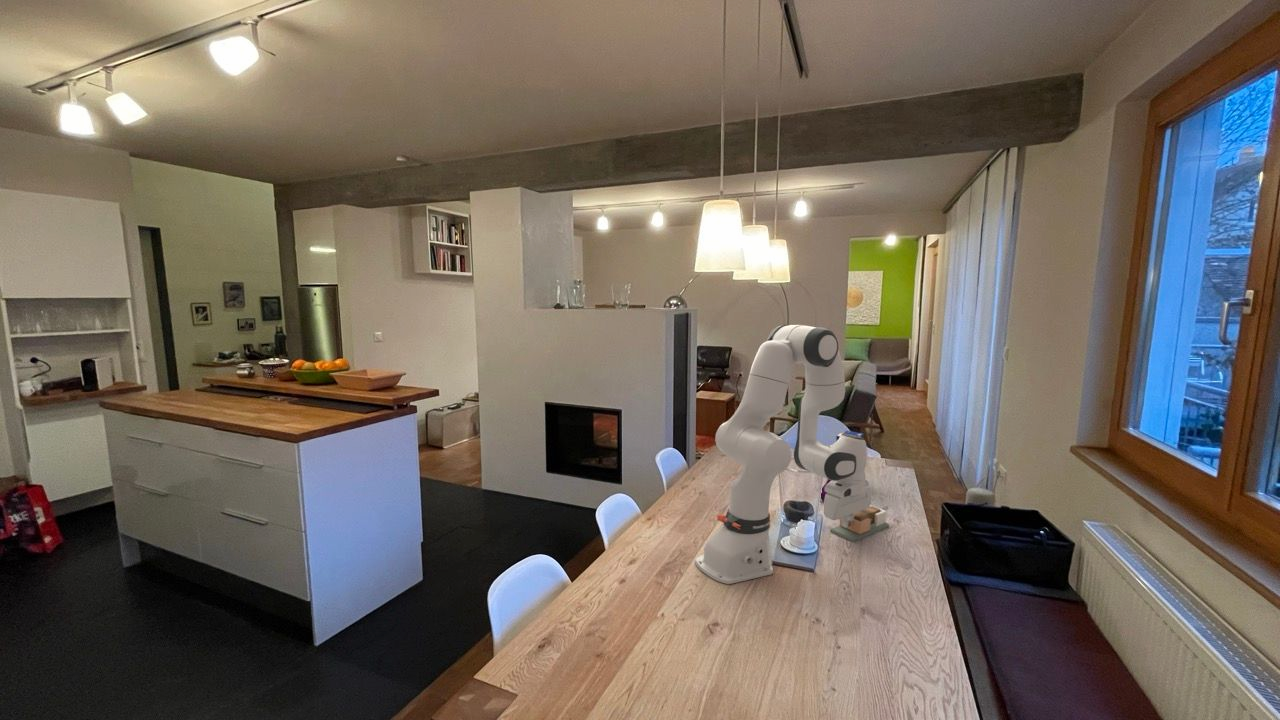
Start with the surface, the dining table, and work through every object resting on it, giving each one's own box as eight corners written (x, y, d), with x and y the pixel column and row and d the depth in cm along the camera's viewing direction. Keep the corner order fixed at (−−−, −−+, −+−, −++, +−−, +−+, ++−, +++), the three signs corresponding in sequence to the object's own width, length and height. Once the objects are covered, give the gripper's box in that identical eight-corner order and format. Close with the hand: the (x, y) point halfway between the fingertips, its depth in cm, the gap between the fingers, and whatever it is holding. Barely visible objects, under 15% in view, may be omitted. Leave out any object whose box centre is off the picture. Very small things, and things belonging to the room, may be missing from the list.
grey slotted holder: (852, 542, 152) (853, 526, 151) (830, 531, 159) (831, 517, 158) (888, 526, 163) (889, 512, 162) (866, 517, 169) (867, 504, 169)
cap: (859, 534, 154) (860, 523, 154) (839, 525, 160) (840, 514, 160) (869, 530, 157) (870, 519, 157) (849, 521, 163) (850, 511, 163)
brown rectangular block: (858, 530, 157) (858, 517, 157) (849, 527, 160) (850, 514, 159) (879, 522, 164) (880, 509, 163) (870, 518, 166) (871, 506, 166)
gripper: (859, 475, 163) (857, 515, 164) (821, 487, 152) (818, 529, 153) (877, 481, 158) (875, 522, 159) (838, 494, 147) (836, 537, 148)
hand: (847, 526), depth 156 cm, fingers closed
